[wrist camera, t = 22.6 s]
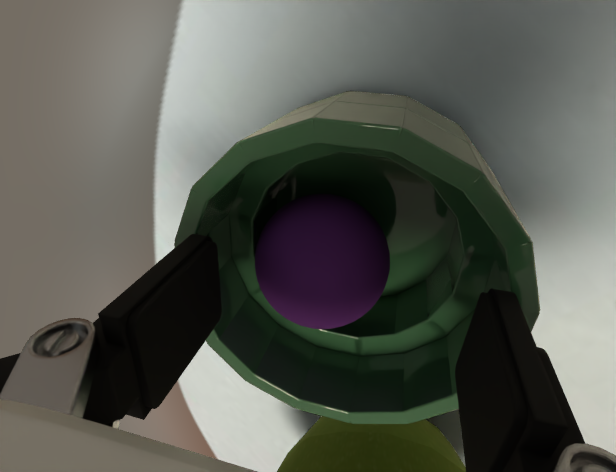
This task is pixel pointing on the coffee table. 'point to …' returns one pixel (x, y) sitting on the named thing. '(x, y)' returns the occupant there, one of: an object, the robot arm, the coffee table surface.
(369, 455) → the apple
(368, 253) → the purple ball
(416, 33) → the coffee table surface
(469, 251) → the green bowl
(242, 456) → the coffee table surface
